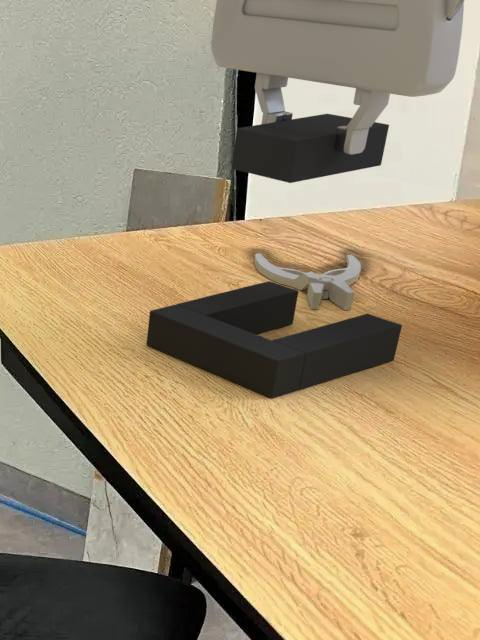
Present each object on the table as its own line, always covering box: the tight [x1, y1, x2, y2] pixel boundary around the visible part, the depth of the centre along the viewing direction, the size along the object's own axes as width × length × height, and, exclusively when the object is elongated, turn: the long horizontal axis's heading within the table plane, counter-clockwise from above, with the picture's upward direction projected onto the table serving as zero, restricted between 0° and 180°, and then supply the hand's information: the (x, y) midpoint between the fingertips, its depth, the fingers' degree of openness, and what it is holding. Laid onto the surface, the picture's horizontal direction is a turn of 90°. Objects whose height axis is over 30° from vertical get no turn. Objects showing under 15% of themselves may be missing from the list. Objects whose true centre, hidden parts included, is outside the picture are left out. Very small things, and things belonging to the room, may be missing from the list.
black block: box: [231, 113, 390, 184], centre depth 88 cm, size 10×6×3 cm, turn 121°
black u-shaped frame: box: [146, 280, 403, 399], centre depth 94 cm, size 14×14×3 cm
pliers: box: [254, 253, 362, 311], centre depth 109 cm, size 10×2×15 cm
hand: (309, 144), depth 88 cm, fingers closed on black block, 6 cm apart
